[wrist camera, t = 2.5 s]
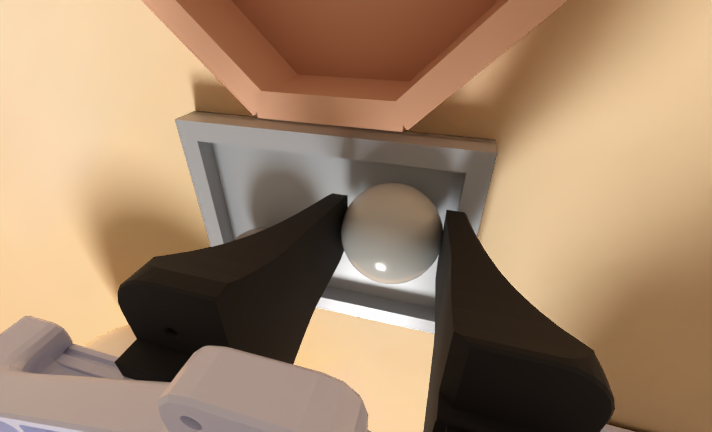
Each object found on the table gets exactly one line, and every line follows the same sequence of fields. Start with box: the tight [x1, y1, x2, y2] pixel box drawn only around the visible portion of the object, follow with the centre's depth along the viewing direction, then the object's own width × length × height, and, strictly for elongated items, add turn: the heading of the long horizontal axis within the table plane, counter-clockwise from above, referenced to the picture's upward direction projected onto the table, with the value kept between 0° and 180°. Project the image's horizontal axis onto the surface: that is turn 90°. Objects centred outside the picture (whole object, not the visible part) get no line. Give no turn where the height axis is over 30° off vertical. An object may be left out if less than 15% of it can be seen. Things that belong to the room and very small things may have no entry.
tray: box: [175, 111, 497, 334], centre depth 15 cm, size 12×9×1 cm
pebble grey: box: [341, 183, 443, 284], centre depth 12 cm, size 4×4×4 cm
